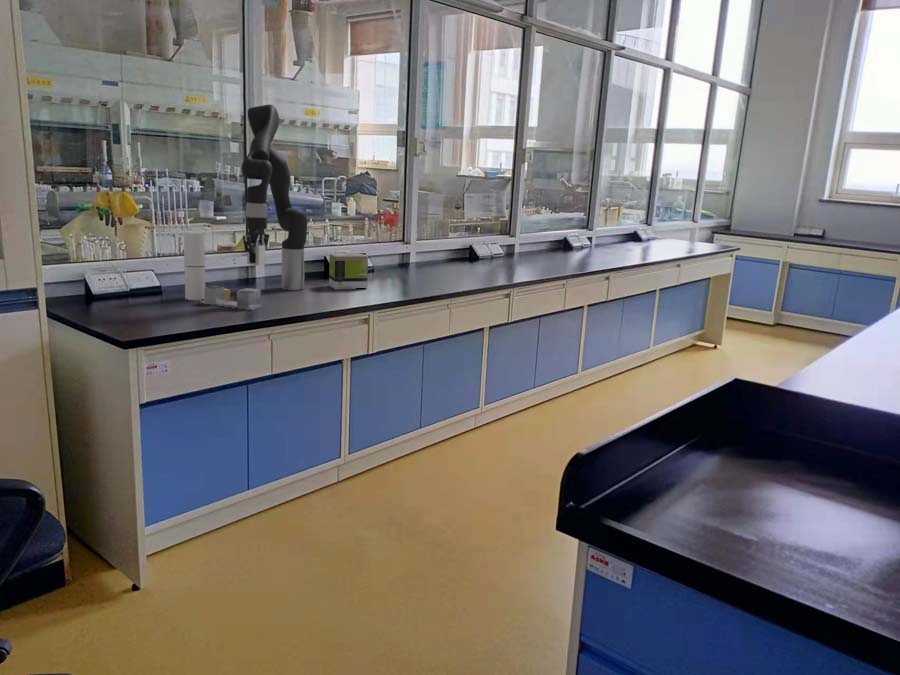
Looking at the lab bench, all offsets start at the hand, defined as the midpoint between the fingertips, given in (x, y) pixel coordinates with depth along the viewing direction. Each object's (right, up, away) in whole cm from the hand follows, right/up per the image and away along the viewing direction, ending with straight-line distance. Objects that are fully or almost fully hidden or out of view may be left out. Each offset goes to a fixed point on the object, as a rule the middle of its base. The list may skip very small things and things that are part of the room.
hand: (256, 262), depth 255 cm
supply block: (-6, -13, +13) cm, 20 cm away
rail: (-9, -16, -2) cm, 18 cm away
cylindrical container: (-25, -13, +6) cm, 29 cm away
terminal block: (-15, -13, +8) cm, 21 cm away
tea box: (+27, -6, +50) cm, 57 cm away
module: (0, -1, 0) cm, 1 cm away
